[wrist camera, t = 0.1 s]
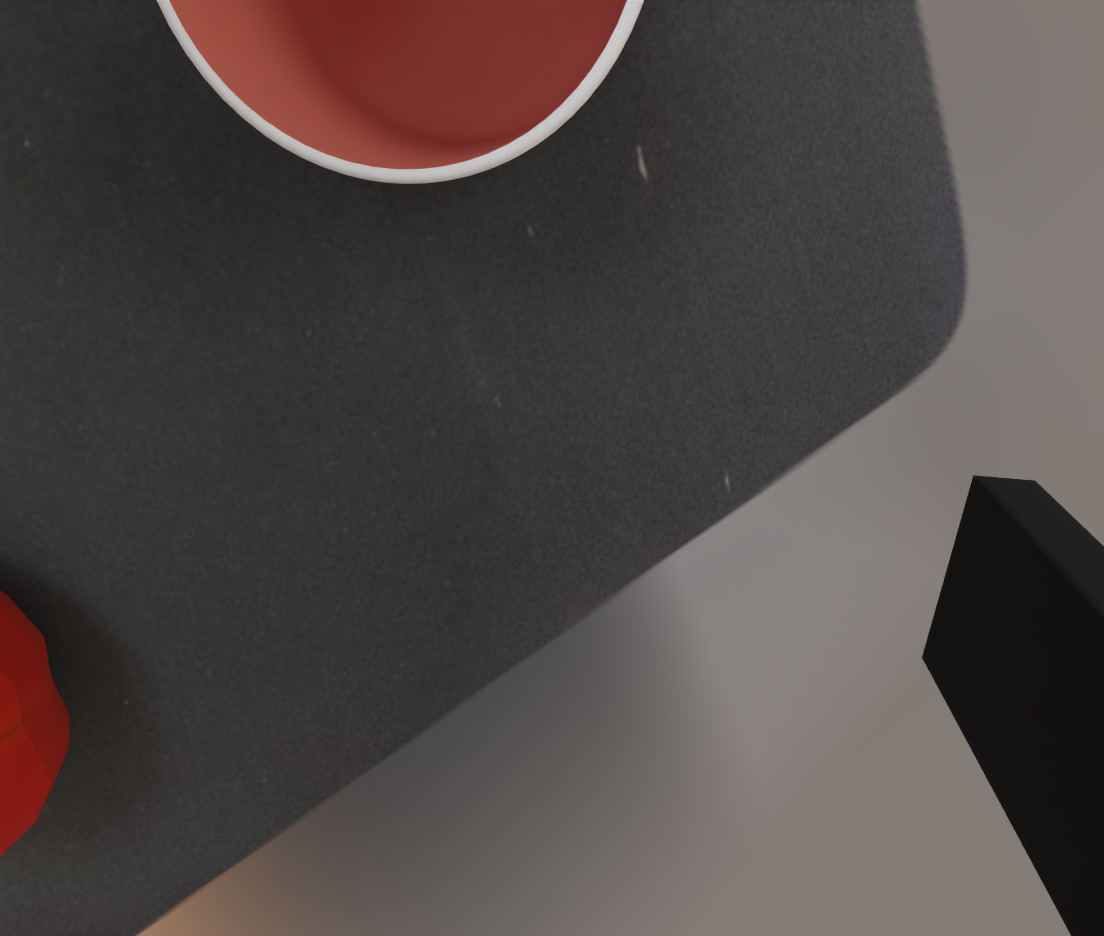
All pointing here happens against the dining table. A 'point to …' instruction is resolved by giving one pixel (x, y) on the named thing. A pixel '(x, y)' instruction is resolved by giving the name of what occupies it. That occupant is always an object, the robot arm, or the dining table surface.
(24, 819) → the tomato
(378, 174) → the cup
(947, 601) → the robot arm
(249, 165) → the dining table surface
